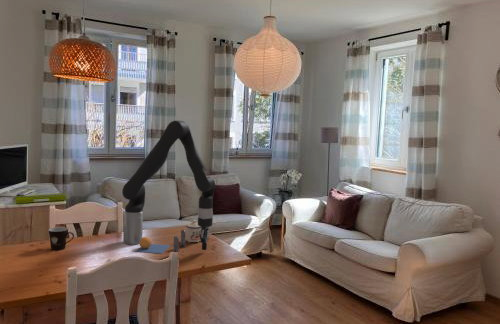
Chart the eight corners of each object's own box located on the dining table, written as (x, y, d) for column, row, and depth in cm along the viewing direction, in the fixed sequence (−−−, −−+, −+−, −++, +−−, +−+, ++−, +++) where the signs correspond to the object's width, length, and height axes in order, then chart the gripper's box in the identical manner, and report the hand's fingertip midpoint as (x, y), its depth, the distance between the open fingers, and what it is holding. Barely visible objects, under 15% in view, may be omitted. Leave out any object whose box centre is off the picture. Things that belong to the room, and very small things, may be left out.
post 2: (180, 247, 212) (180, 230, 211) (181, 246, 214) (181, 229, 213) (184, 247, 212) (184, 231, 211) (185, 246, 214) (186, 229, 213)
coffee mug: (44, 249, 200) (44, 229, 199) (60, 245, 207) (60, 226, 206) (60, 253, 194) (60, 233, 193) (75, 249, 202) (75, 229, 201)
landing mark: (135, 251, 202) (135, 251, 202) (145, 243, 216) (145, 243, 216) (161, 253, 200) (161, 253, 200) (170, 245, 214) (170, 245, 214)
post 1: (172, 254, 199) (173, 237, 198) (174, 253, 201) (174, 236, 201) (177, 255, 199) (177, 237, 198) (178, 253, 201) (179, 236, 200)
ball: (137, 238, 205) (148, 238, 204) (141, 235, 211) (152, 235, 210) (138, 250, 205) (149, 250, 204) (142, 246, 211) (153, 246, 210)
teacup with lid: (190, 244, 219) (191, 223, 218) (183, 239, 226) (183, 219, 225) (209, 241, 226) (210, 220, 225) (201, 237, 233) (202, 217, 232)
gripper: (201, 213, 210) (200, 245, 212) (194, 218, 197) (193, 253, 199) (215, 214, 210) (214, 246, 211) (209, 219, 197) (208, 254, 198)
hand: (204, 249), depth 205 cm, fingers closed
